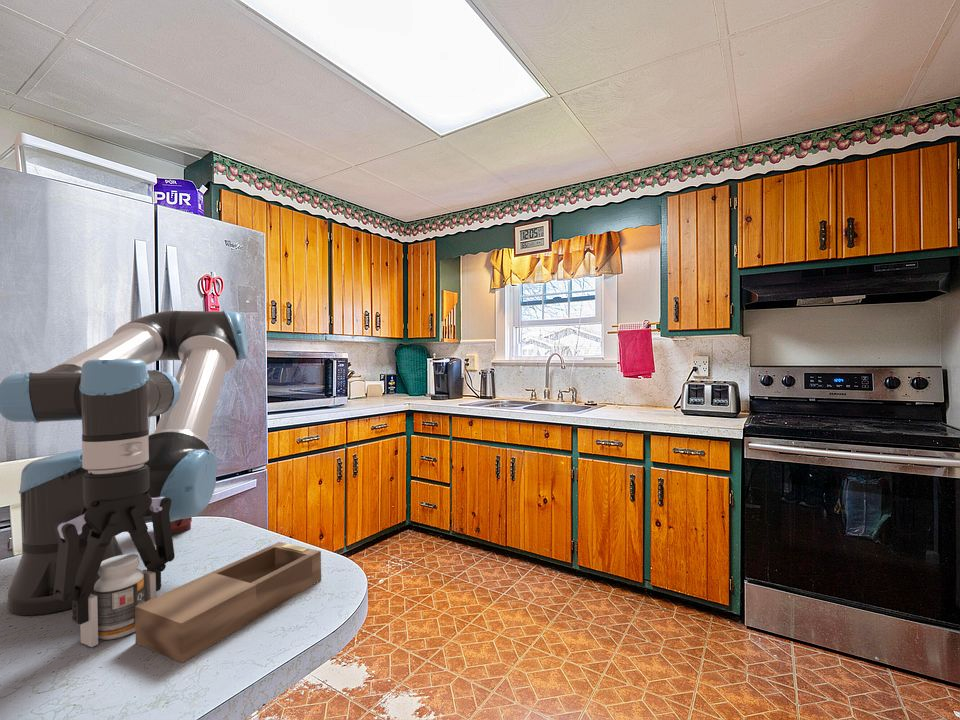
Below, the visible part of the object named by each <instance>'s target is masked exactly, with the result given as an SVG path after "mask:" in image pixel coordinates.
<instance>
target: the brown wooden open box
mask: <svg viewBox="0 0 960 720" xmlns="http://www.w3.org/2000/svg"><path fill="white" fill-rule="evenodd" d="M319 580H320V581H322V551H321V550H316V549H312V548H309V547H304V546H300V545H296V544H292V543H286V542H281V541H279V542H276V543H274V544H272V545H269V546H267V547H264V548H263V549H261V550H258V551H256V552H254V553H251V554H249V555H247V556H245V557H242V558H240V559H237V560H235V561H234V562H231V563H229V564H227V565H225V566H222V567H221V568H218V569H216V570H212V571H211V572H209V573H207V574H205V575H202V576H200V577H198V578H195V579H194V580H190V581H189V582H186V583H184V584H182V585H180V586H178V587H175V588H173V589H170V590H169V591H166V592H163V593H162V594H160V595H156V597H155V598H153V599H150V600H148V601H146V602H144V603H141V604H139V605H137V606H135V631H134V632H135V644H137V645H140V646H142V647H144V648H147V649H149V650H150V651H154V652H156V653H158V654H161V655H163V656H165V657H167V658H170V659H172V660H175V661H176V662H180V663H184V662H186V661H189V659H190V658H193V657H194V656H196V655H198V654H199V653H201V652H202V651H204V650H206V649H208V648H210V647H211V646H213V645H214V644H216V643H218V642H220V641H222V640H223V639H225V638H227V637H228V636H230V635H231V634H233V633H235V632H236V631H238V630H240V629H242V628H243V627H245V626H247V625H249V624H250V623H252V622H253V621H255V620H256V619H258V618H259V617H261V616H263V615H265V614H267V613H268V612H270V611H271V610H274V609H275V608H277V607H278V606H280V605H281V604H283V603H285V602H287V601H288V600H290V599H292V598H293V597H295V596H297V595H299V594H300V593H302V592H303V591H306V590H307V589H309V588H310V587H312V586H314V585H315V584H317V583H318V582H317V581H319ZM320 581H319V582H320ZM316 582H317V583H316ZM314 583H315V584H314ZM313 584H314V585H313Z"/></svg>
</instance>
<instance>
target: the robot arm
mask: <svg viewBox="0 0 960 720" xmlns="http://www.w3.org/2000/svg"><path fill="white" fill-rule="evenodd" d="M246 330H247V329H246V325H245V322H244V317H243V315H241V313H239V312H237V311H226V310H221V311H209V310H208V311H203V310H199V311H198V310H166V311H159V312H155V313H152V314H147V315H144V316H142V317H139V318H136V319H133V320H131V321H129V322H126V323H125V324H123V325H121V326H119V327H118V328H116V330H115V331H114V333H113V335H112V336H111V337H109V338H107V339H105V340H103V341H101V342H99V343H98V344H95V345H94V346H92V347H89V348H88V349H86V350H84V351H82V352H80V353H79V354H77V355H75V356H73V357H71V358H69V359H67V360H66V361H64V362H61V363H59V364H57V365H56V366H54V367H52V368H50V369H47V370H46V371H44V372H31V371H29V372H23V373H13V374H9V375H8V376H5V378H3V379H2V381H1V382H0V415H1V416H2V417H3V418H4V419H5V420H7V421H9V422H15V423H34V424H37V423H45V422H46V423H47V422H63V421H64V422H66V421H81V430H82V434H81V449H75V450H72V451H68V452H62V453H59V454H54V455H50V456H45V457H42V458H38V459H36V460H33V461H31V462H29V463H27V464H26V465H25V466H24V467H23V468H22V470H21V476H20V487H19V491H18V494H20V498H19V499H20V519H21V520H20V523H21V546H22V547H21V549H22V550H21V558H20V561H19V562H18V563H19V564H18V566H17V569H16V570H15V574H14V576H13V579H12V581H11V584H10V586H9V589H8V592H7V610H8V611H9V613H11V614H14V615H19V616H20V615H21V616H36V615H44V614H45V615H46V614H51V613H58V612H61V611H66V610H70V609H72V612H71V613H72V620H73V622H74V623H75V624H78V625H79V626H80V643H81V644H84V645H85V646H88V647H91V648H93V647H95V646H97V645H99V638H98V607H97V596H96V595H94V585H95V583H96V582H97V581H98V580H99V579H100V576H99V575H98V571H99V568H100V565H101V562H102V561H104V560H106V559H109V558H112V557H115V556H119V555H124V553H123V551H122V548H121V547H120V544H119V542H118V540H117V538H116V536H118V535H120V534H122V533H126V532H127V533H128V534H129V536H130V538H131V540H132V542H133V545H134V546H135V548H136V550H137V552H138V556H139V558H140V559H141V561H142V563H143V566H144V568H146V569H143V570H141V571H142V572H143V574H144V597H145V602H146V601H148V600H150V599H153V598H155V597H157V592H159V591H160V590H161V587H162V572H164V570H165V569H166V567H167V565H166V564H167V563H168V562H172V561H173V560H175V555H176V554H175V548H174V540H173V534H172V532H171V524H170V522H172V521H175V520H179V519H186V518H195V517H196V516H198V515H200V514H202V512H204V510H205V509H206V508H207V507H208V505H209V504H210V502H211V499H212V498H213V495H214V493H215V488H216V485H217V479H216V478H217V476H218V461H217V457H216V455H215V453H214V452H213V451H211V448H210V445H209V444H208V443H207V442H206V441H207V438H208V433H209V430H210V428H211V427H210V426H211V424H212V421H213V416H214V412H215V409H216V405H217V402H218V398H219V395H220V391H221V387H222V385H223V380H224V377H225V373H227V372H229V371H231V370H232V368H233V367H234V366H235V365H236V361H237V360H238V361H241V360H245V359H247V357H248V339H247V338H248V337H247V331H246ZM156 361H181V364H180V366H179V369H178V371H177V373H176V376H175V377H174V376H173V375H171V374H170V373H168V372H166V371H162V370H161V371H160V370H157V369H153V370H152V369H151V370H148V365H151V364H153V363H155V362H156ZM159 416H160V417H159ZM151 417H159V420H158V422H157V425H156V428H155V430H154V432H153V433H150V431H149V418H151ZM149 433H150V434H149ZM147 523H152V528H153V536H154V537H153V538H154V542H153V540H152V538H151V535H150V534H149V531H148V530H149V528H148V525H147Z"/></svg>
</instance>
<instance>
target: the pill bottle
mask: <svg viewBox="0 0 960 720" xmlns="http://www.w3.org/2000/svg"><path fill="white" fill-rule="evenodd" d="M139 566H140V555H139V554H135V553H128V554H127V553H125V554H123V555H119V556H115V557H112V558H109V559H106V560H104V561H102V562H101V565H100V568H99V571H98V575H99V576H100V579H99V580H98V581H97V582H96V583H95V585H94V595H96V596H97V607H98V640H99V639H100V640H104V641H106V640H107V641H108V640H115V639H116V640H117V639H119V638H123V637H125V636H128V635H130V634H133V633H134V632H135V606H137V605H139V604H141V603H144V602H145V597H144V574H143V572H142V570H141V569H139Z"/></svg>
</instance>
